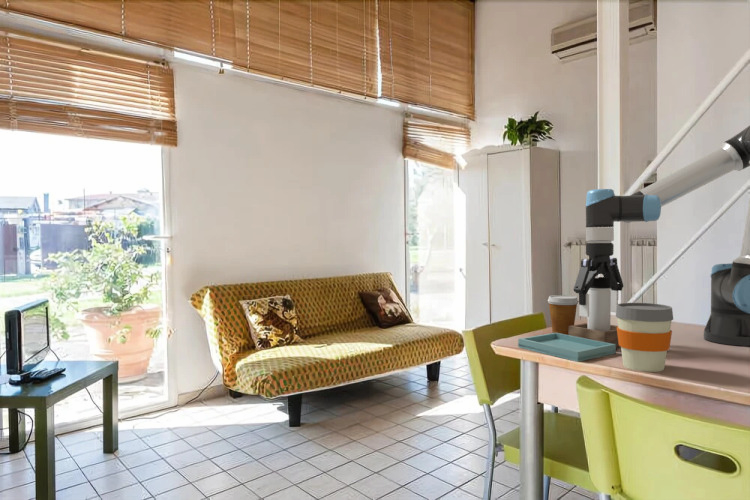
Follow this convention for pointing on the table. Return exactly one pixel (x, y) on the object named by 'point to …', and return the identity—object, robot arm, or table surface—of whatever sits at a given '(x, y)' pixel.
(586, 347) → the tray
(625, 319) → the reusable coffee cup
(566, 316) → the disposable coffee cup
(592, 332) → the brown wooden crate
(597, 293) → the travel mug
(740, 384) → the table surface
